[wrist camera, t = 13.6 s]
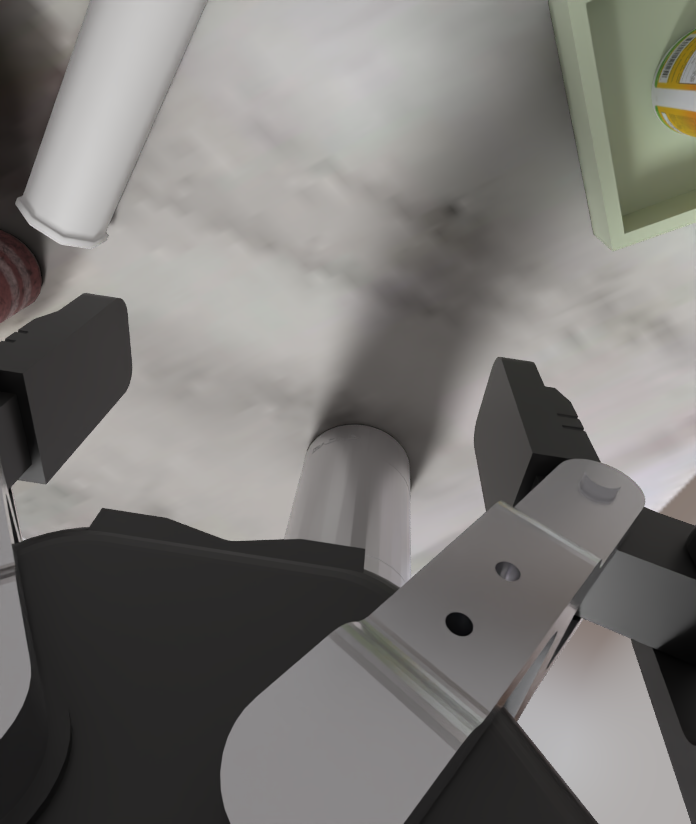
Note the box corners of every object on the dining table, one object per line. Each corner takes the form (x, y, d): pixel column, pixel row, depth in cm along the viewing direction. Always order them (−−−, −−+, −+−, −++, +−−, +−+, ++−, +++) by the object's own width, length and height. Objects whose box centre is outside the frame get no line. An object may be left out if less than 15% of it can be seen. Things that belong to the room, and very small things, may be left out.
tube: (161, -312, 24) (-2, 197, 35) (256, -236, 23) (59, 252, 35) (228, -225, 28) (64, 199, 40) (307, -161, 28) (119, 247, 40)
